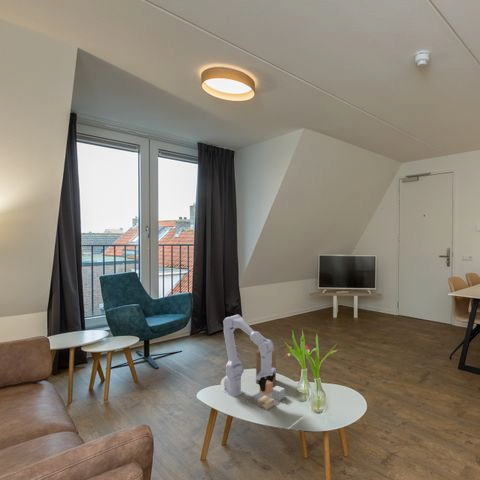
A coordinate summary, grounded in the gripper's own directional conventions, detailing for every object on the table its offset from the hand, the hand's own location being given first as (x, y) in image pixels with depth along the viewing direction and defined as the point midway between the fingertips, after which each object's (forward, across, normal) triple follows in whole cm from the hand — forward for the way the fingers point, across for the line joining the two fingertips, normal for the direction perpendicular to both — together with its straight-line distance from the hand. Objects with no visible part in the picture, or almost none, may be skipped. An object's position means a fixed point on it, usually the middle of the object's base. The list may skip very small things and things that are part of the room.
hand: (266, 389), depth 171 cm
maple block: (+8, 0, 0) cm, 8 cm away
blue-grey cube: (+8, +11, 0) cm, 14 cm away
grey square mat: (+9, +6, +4) cm, 11 cm away
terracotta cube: (+1, 0, 0) cm, 1 cm away
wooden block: (+9, +22, +17) cm, 29 cm away
